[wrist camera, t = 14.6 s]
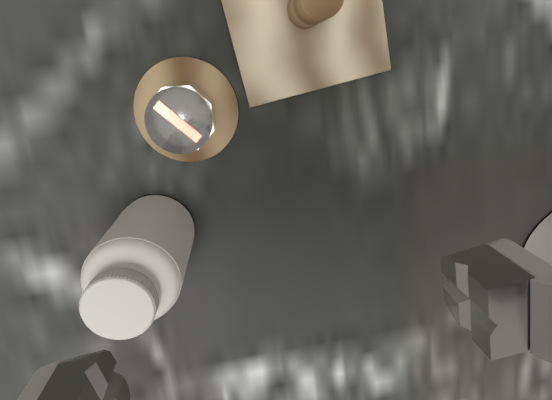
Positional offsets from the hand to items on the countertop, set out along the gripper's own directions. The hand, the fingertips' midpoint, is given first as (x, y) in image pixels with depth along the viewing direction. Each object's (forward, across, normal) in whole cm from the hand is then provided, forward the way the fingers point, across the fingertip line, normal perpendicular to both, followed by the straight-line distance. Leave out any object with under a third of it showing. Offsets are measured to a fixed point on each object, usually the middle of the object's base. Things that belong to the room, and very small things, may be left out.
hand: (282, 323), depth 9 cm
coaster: (+31, -5, +3) cm, 32 cm away
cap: (+30, -5, +3) cm, 31 cm away
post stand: (+31, +8, +9) cm, 33 cm away
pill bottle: (+31, -12, -8) cm, 35 cm away
